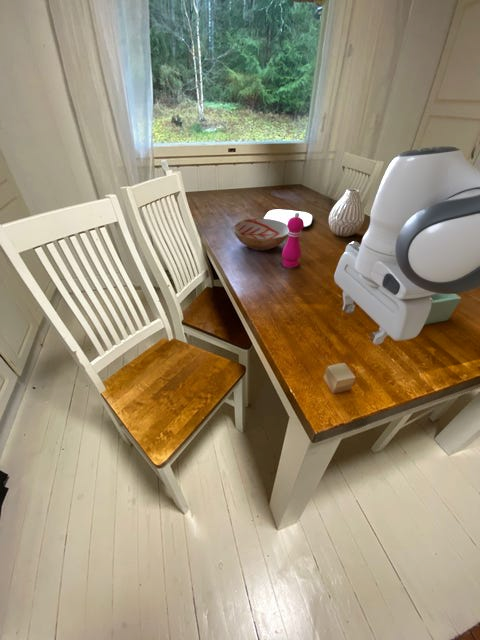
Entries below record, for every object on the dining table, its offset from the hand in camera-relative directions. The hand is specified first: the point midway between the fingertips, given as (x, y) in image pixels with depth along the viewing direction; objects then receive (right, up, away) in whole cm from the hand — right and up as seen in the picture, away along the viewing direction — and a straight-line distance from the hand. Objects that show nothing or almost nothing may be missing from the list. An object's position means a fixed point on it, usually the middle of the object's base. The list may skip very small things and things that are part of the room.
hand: (360, 325), depth 54 cm
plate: (+3, +56, +95) cm, 110 cm away
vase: (+27, +44, +81) cm, 96 cm away
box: (+29, +4, +32) cm, 43 cm away
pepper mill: (-4, +23, +55) cm, 60 cm away
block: (-1, -14, +9) cm, 17 cm away
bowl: (-15, +35, +69) cm, 79 cm away
